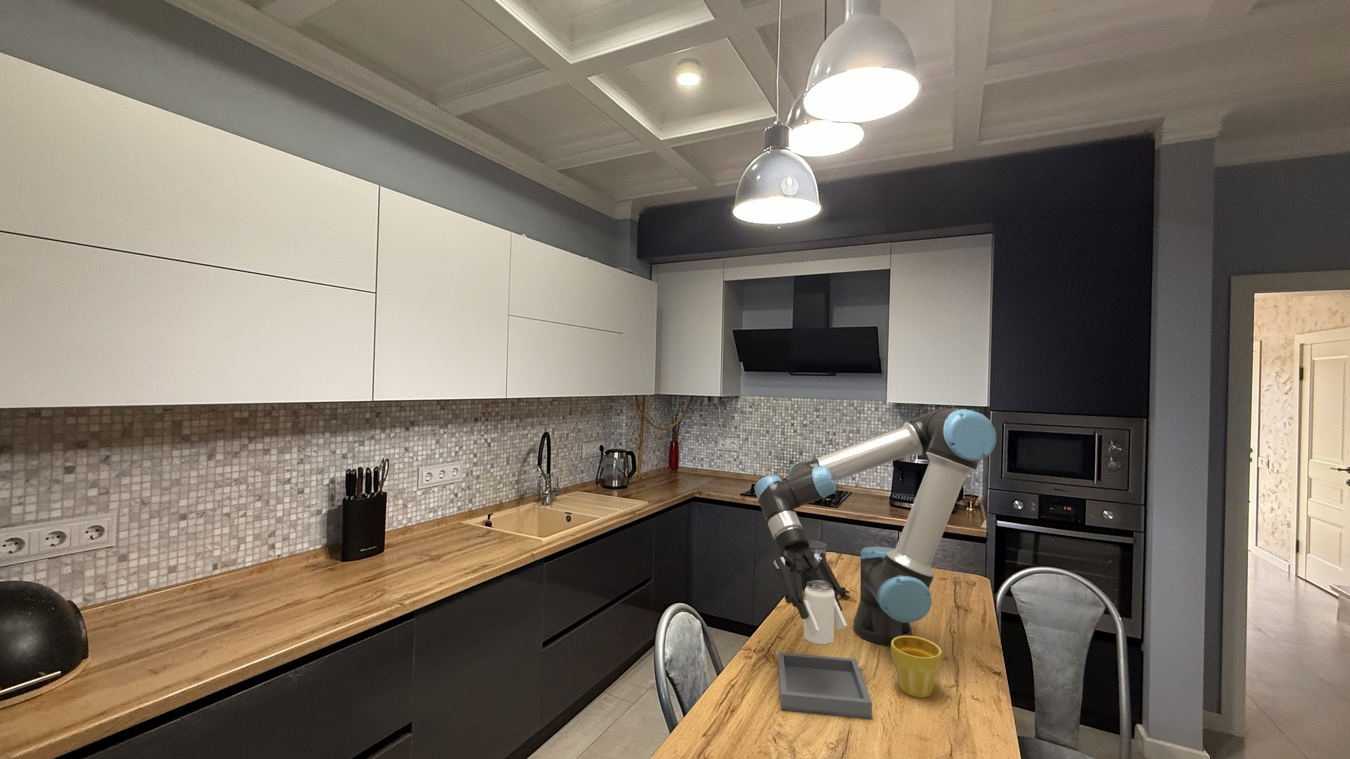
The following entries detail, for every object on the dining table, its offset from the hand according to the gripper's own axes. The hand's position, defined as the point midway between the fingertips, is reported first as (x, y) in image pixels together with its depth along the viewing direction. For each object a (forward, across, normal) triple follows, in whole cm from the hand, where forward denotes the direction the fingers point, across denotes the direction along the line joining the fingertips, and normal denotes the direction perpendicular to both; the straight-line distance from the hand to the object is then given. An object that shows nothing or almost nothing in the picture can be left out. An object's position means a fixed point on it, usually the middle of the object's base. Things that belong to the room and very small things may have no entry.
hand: (829, 630), depth 118 cm
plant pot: (+13, -21, -8) cm, 26 cm away
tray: (+8, -1, -13) cm, 15 cm away
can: (0, 0, -5) cm, 5 cm away
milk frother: (-26, -37, -47) cm, 65 cm away
